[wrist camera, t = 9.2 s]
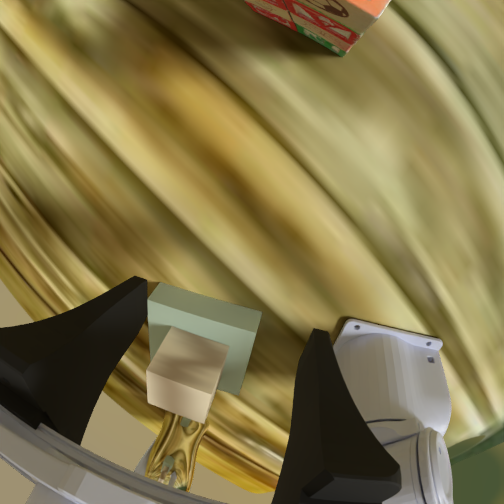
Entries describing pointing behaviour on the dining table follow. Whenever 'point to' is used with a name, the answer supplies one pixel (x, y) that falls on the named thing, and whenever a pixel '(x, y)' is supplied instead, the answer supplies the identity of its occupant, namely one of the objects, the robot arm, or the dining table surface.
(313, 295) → the dining table surface
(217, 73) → the dining table surface
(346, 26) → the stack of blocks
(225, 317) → the green slab
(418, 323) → the dining table surface
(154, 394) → the ash cube
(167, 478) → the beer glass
